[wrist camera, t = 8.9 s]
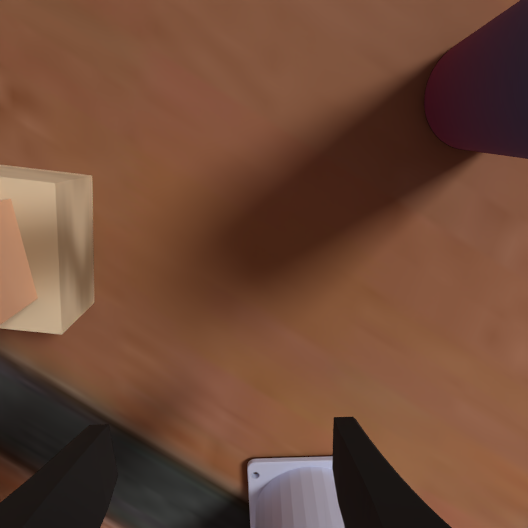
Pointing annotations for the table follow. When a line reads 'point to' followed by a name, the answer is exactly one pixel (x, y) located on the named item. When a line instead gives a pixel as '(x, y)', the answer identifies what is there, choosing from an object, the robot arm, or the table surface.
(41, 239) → the oak block
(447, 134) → the cup
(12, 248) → the terracotta cube
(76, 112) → the table surface
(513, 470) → the table surface
